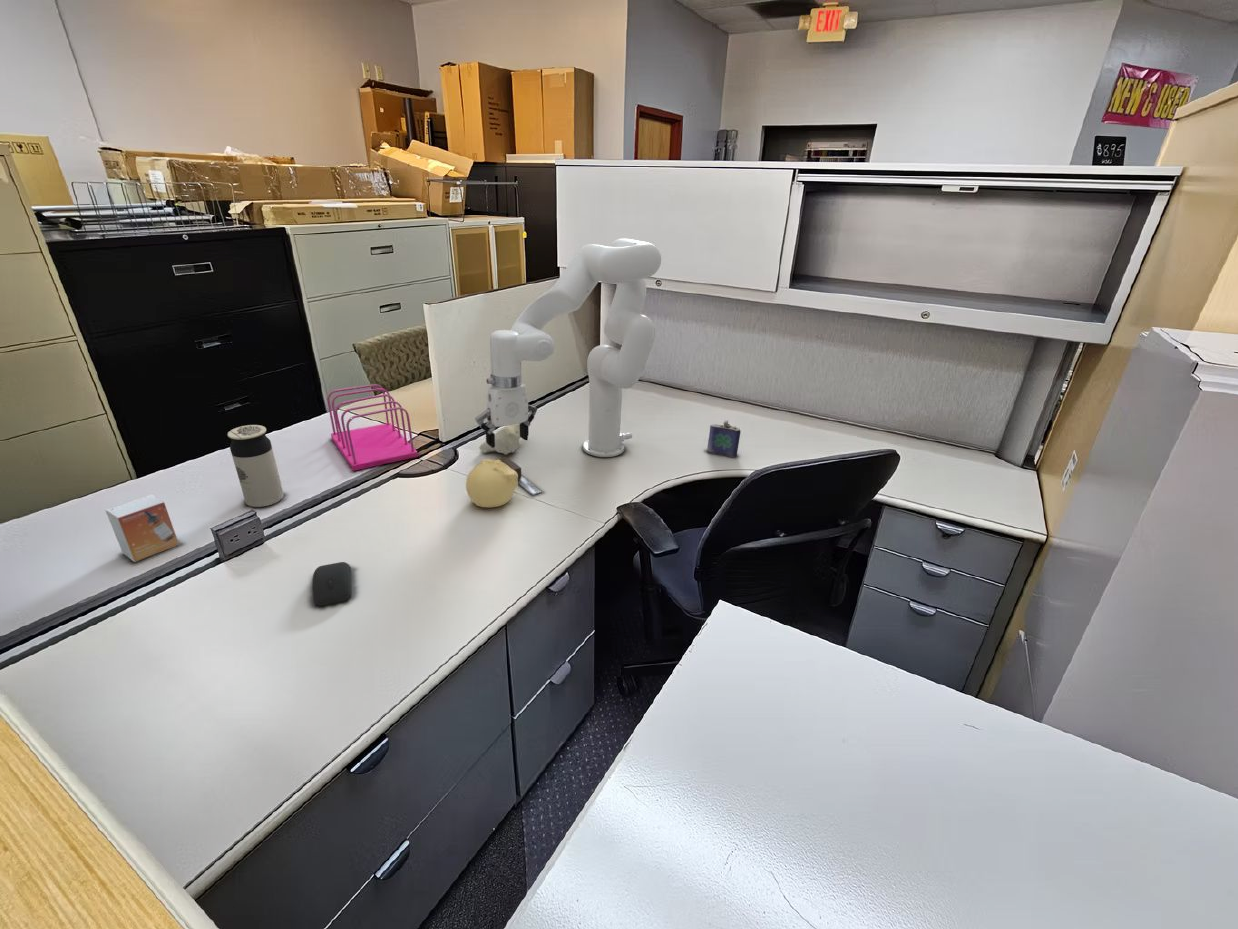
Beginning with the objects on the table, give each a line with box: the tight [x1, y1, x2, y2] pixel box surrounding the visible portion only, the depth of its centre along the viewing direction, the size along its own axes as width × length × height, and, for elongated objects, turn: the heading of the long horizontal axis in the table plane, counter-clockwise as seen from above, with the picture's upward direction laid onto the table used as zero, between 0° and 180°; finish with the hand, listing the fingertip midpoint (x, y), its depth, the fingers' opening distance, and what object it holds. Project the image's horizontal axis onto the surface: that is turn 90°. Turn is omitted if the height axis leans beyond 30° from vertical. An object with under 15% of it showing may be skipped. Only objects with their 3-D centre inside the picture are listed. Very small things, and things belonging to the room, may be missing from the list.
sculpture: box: [465, 458, 519, 508], centre depth 137 cm, size 11×12×11 cm
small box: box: [105, 493, 180, 563], centre depth 113 cm, size 8×6×10 cm
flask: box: [706, 420, 741, 458], centre depth 169 cm, size 9×3×11 cm, turn 71°
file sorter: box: [326, 384, 419, 471], centre depth 159 cm, size 17×25×16 cm
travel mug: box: [227, 424, 285, 508], centre depth 131 cm, size 8×8×18 cm
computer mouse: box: [312, 561, 353, 607], centre depth 107 cm, size 6×11×4 cm, turn 24°
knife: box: [499, 456, 542, 496], centre depth 149 cm, size 18×3×3 cm, turn 38°
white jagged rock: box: [478, 423, 521, 456], centre depth 165 cm, size 15×7×15 cm
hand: (507, 442), depth 149 cm, fingers open, 9 cm apart
